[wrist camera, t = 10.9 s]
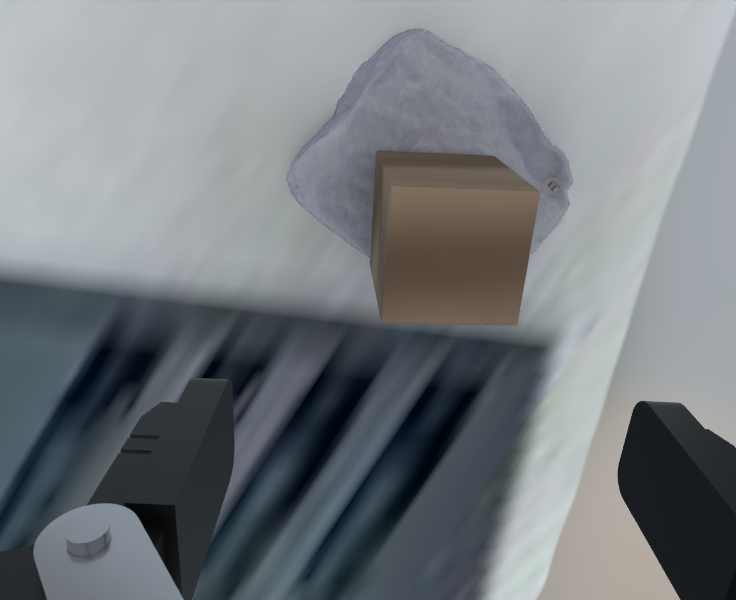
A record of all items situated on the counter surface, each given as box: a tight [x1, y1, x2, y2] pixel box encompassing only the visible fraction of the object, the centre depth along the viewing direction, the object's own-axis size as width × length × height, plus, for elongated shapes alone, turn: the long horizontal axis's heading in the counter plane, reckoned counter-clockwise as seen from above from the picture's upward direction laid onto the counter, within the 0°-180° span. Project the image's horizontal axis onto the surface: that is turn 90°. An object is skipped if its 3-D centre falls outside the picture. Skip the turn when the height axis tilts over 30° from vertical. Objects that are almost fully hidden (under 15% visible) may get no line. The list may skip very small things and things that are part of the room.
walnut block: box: [370, 151, 540, 326], centre depth 24 cm, size 5×5×6 cm
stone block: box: [287, 29, 573, 257], centre depth 29 cm, size 12×5×10 cm
